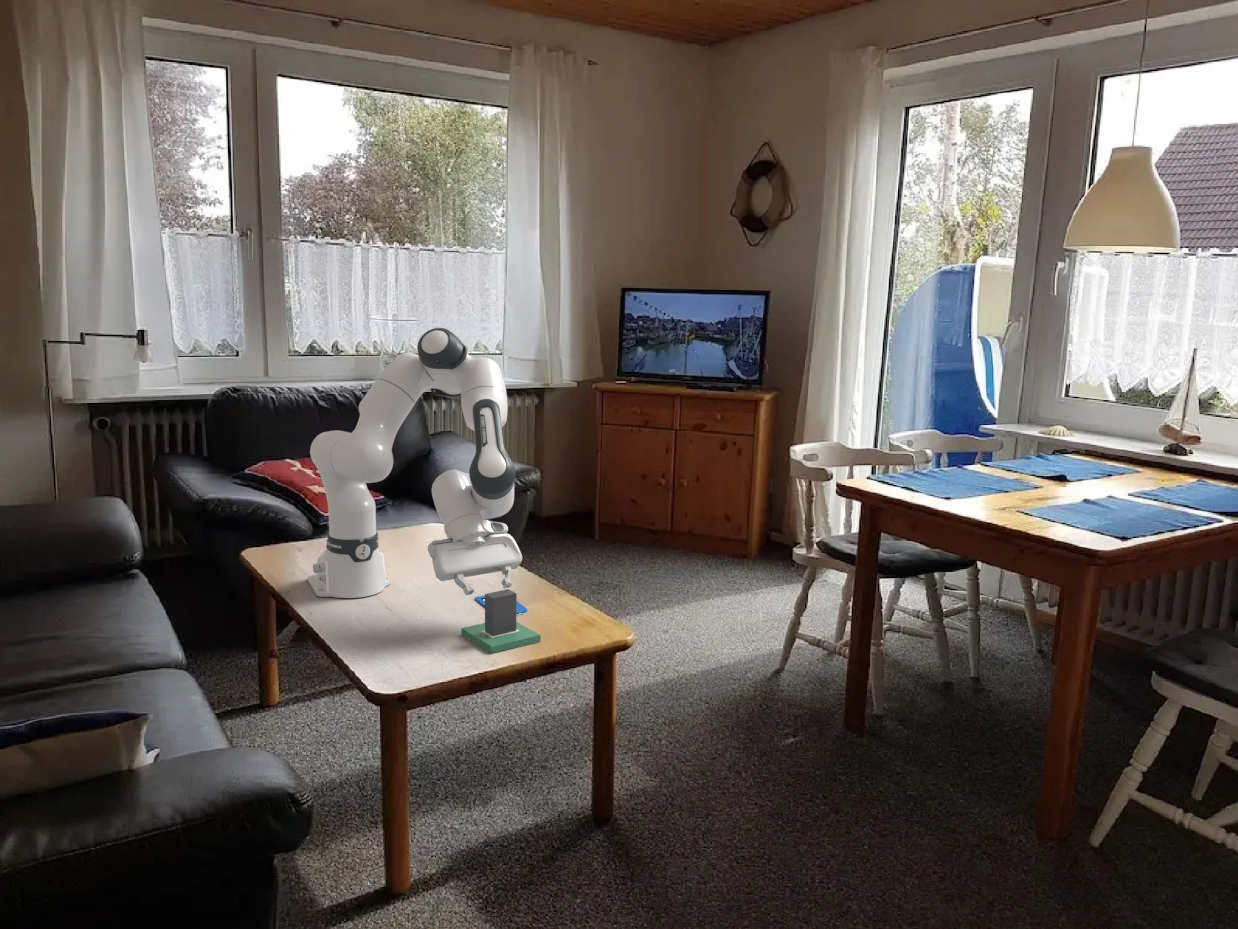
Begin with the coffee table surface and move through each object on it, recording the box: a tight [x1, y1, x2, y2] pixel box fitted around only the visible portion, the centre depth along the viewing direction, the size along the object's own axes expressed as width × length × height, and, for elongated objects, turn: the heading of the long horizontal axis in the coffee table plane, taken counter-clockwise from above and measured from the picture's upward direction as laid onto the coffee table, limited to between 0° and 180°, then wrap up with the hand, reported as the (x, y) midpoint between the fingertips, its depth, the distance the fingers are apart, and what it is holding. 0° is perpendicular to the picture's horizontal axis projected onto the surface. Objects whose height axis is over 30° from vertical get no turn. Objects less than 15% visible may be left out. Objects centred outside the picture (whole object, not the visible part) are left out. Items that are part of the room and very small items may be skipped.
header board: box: [460, 621, 541, 654], centre depth 207 cm, size 13×12×4 cm
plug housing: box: [484, 588, 517, 636], centre depth 206 cm, size 3×6×8 cm, turn 128°
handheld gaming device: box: [474, 595, 528, 614], centre depth 228 cm, size 8×1×15 cm
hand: (489, 590), depth 207 cm, fingers open, 8 cm apart
